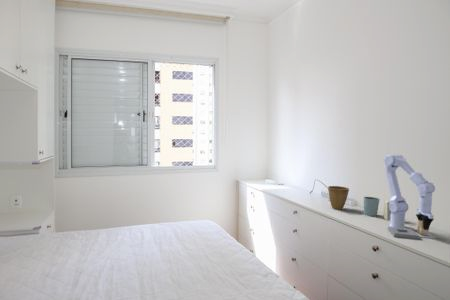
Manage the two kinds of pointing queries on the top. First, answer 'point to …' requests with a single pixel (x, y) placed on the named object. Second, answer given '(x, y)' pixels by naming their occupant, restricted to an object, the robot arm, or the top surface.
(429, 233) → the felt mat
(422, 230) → the oak block
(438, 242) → the top surface
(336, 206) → the plant pot
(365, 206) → the teal tapered pot
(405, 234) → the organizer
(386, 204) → the skincare box
